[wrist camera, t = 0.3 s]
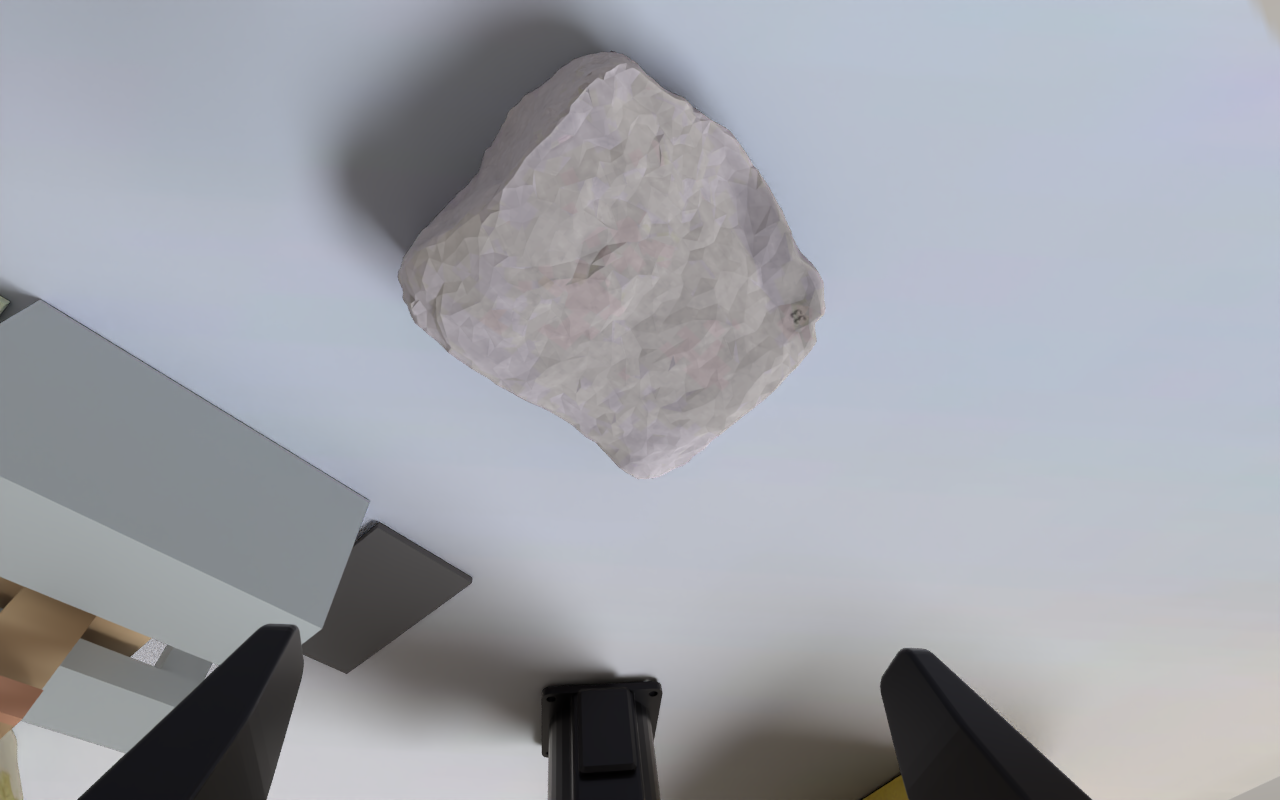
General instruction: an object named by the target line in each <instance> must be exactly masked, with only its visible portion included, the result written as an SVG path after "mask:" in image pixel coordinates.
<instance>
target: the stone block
mask: <svg viewBox="0 0 1280 800" xmlns="http://www.w3.org/2000/svg"><path fill="white" fill-rule="evenodd" d="M398 280H399V282H400V284H401V287H402V288H403V300H404V302H405V303H406V304H407V306H408V309H409V311H410V314H411V316H412V318H413V320H414V322H415V324H417V325H418V326H419V327H420V328H422V329H423V330H424V331H425V332H426V333H427V334H428V335H430V336H431V337H432V338H434V339H435V340H436V341H437V342H438V343H439V344H440V345H442V346H443V347H444V348H445V349H446V350H447V352H448V353H450V354H451V355H453V356H454V357H455V358H457V359H458V360H460V361H461V362H463V363H464V364H466V365H467V366H468V367H470V368H471V369H473V370H475V371H476V372H478V373H480V374H482V375H483V376H485V377H487V378H488V379H490V380H491V381H492V382H494V383H495V384H496V385H498V386H500V387H502V388H504V389H506V390H508V391H509V392H511V393H513V394H515V395H516V396H518V397H520V398H522V399H524V400H525V401H528V402H530V403H532V404H535V405H537V406H539V407H542V408H544V409H546V410H548V411H550V412H552V413H553V414H555V415H557V416H558V417H560V418H562V419H563V420H565V421H567V422H568V423H570V424H571V425H573V426H574V427H575V428H576V429H577V430H578V431H580V432H581V433H582V434H583V435H584V436H585V437H587V438H588V439H590V440H592V441H594V442H596V443H597V444H598V446H599V447H600V448H601V449H602V450H603V451H604V452H605V453H606V454H607V455H608V456H609V457H610V458H611V459H612V460H613V462H614V463H615V464H616V465H617V466H618V467H619V468H621V469H622V470H623V471H625V472H626V473H628V474H630V475H632V476H634V477H635V478H637V479H649V478H656V477H660V476H662V475H664V474H666V473H668V472H670V471H671V470H673V469H675V468H678V467H681V466H683V465H685V464H686V463H688V462H689V461H690V460H691V458H692V457H693V456H695V455H696V454H698V453H699V452H701V451H702V450H704V449H705V448H706V447H707V446H708V444H709V443H710V442H711V441H712V440H714V439H715V438H716V437H718V436H719V435H721V434H722V433H723V432H724V431H725V430H727V429H728V428H729V427H730V426H732V425H733V424H734V423H736V422H737V421H738V420H739V419H740V418H741V417H743V416H744V415H745V414H747V413H748V412H749V411H751V410H752V409H753V408H755V407H756V406H757V405H758V404H760V403H761V402H762V401H763V400H765V399H766V398H767V397H768V396H769V395H770V394H771V393H772V392H773V391H775V389H776V388H777V387H778V386H779V385H780V384H781V383H782V382H783V381H784V380H785V379H786V377H787V376H788V375H789V374H790V373H791V372H792V371H793V370H794V369H796V368H797V367H798V366H799V364H800V363H801V362H802V360H803V359H804V358H805V357H806V356H807V354H808V353H809V352H810V351H811V349H812V348H813V346H814V345H815V343H816V342H817V340H816V334H815V323H816V322H817V321H818V320H819V319H820V318H821V317H822V316H823V315H824V313H825V302H824V282H823V280H822V278H821V276H820V274H819V272H818V271H817V270H816V268H815V267H814V266H813V264H812V263H811V262H810V261H809V260H808V259H807V258H806V257H805V256H804V255H803V254H802V253H801V252H800V250H799V248H798V247H797V245H796V243H795V241H794V239H793V237H792V233H791V230H790V228H789V226H788V224H787V221H786V220H785V217H784V214H783V211H782V209H781V208H780V206H779V205H778V203H777V201H776V199H775V197H774V196H773V194H772V192H771V190H770V188H769V186H768V185H767V183H766V182H765V180H764V179H763V177H762V176H761V174H760V173H759V171H758V170H757V169H756V168H755V167H754V166H753V164H752V162H751V160H750V159H749V157H748V155H747V154H746V152H745V151H744V149H743V148H742V146H741V145H740V144H739V142H738V141H737V139H736V138H735V137H734V136H733V134H732V133H731V132H730V131H729V130H728V129H726V128H725V127H723V126H721V125H720V124H718V123H716V122H714V121H712V120H711V119H709V118H708V117H706V116H705V115H704V114H702V113H701V112H700V111H698V110H697V109H696V108H694V107H692V106H691V104H690V103H689V102H688V101H687V100H686V99H685V98H683V97H681V96H678V95H676V94H673V93H671V92H669V91H667V90H666V89H664V88H662V87H661V86H660V85H659V84H658V83H657V82H656V81H655V80H654V79H653V78H651V77H650V76H648V75H647V74H646V73H645V72H644V71H643V70H642V69H641V67H640V66H639V65H638V64H637V63H636V62H635V61H633V60H631V59H630V58H628V57H626V56H625V55H624V54H619V53H616V52H613V51H610V52H599V53H596V54H589V55H586V56H582V57H579V58H575V59H573V60H572V61H571V62H569V63H568V64H567V65H565V66H563V67H562V68H560V69H559V70H558V71H557V72H556V73H555V74H554V75H553V76H552V78H551V79H549V80H548V81H546V82H545V83H544V84H542V85H541V86H540V87H539V88H537V89H536V90H534V91H532V92H530V93H528V94H526V95H525V96H524V97H523V98H522V100H521V101H520V102H519V103H518V104H517V105H516V106H514V107H513V108H512V109H510V111H509V112H508V114H507V118H506V120H505V122H504V123H503V124H502V126H501V128H500V130H499V132H498V134H497V136H496V138H495V140H494V141H493V143H492V145H491V147H489V148H487V149H486V150H485V152H484V156H483V159H482V163H481V167H480V169H479V172H478V173H477V174H476V175H475V176H474V177H473V179H472V180H471V181H470V182H469V184H468V185H467V186H466V187H465V188H464V189H462V190H461V191H460V192H458V193H457V195H456V197H455V198H454V199H452V200H451V201H450V202H449V203H448V204H447V206H446V207H445V208H444V209H443V210H442V211H441V212H440V213H439V214H438V215H437V216H436V217H435V218H434V220H433V221H432V222H431V223H430V224H429V225H428V226H427V227H426V228H424V229H423V230H422V231H421V233H420V234H419V235H418V237H417V238H416V240H415V241H414V243H413V244H412V246H411V247H410V249H409V250H408V252H407V253H406V254H405V256H404V257H403V261H402V265H401V268H400V269H399V271H398Z"/></svg>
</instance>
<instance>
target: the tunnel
mask: <svg viewBox="0 0 1280 800" xmlns="http://www.w3.org/2000/svg"><path fill="white" fill-rule="evenodd" d="M369 502H370V501H369V500H367V499H366V498H364V497H362V496H361V495H359V494H358V493H356V492H354V491H353V490H351V489H349V488H348V487H346V486H345V485H343V484H341V483H340V482H338V481H336V480H335V479H333V478H331V477H330V476H328V475H327V474H325V473H323V472H322V471H320V470H318V469H317V468H315V467H313V466H312V465H310V464H309V463H307V462H305V461H304V460H302V459H300V458H299V457H297V456H295V455H294V454H292V453H291V452H289V451H287V450H286V449H284V448H282V447H281V446H279V445H277V444H276V443H274V442H273V441H271V440H269V439H268V438H266V437H264V436H263V435H261V434H259V433H258V432H256V431H255V430H253V429H251V428H250V427H248V426H246V425H245V424H243V423H242V422H240V421H238V420H237V419H235V418H233V417H232V416H230V415H228V414H227V413H225V412H224V411H222V410H220V409H219V408H217V407H215V406H214V405H212V404H210V403H209V402H207V401H206V400H204V399H202V398H201V397H199V396H197V395H196V394H194V393H192V392H191V391H189V390H188V389H186V388H184V387H183V386H181V385H179V384H178V383H176V382H174V381H173V380H171V379H170V378H168V377H166V376H165V375H163V374H161V373H160V372H158V371H156V370H155V369H153V368H152V367H150V366H148V365H147V364H145V363H143V362H142V361H140V360H139V359H137V358H135V357H134V356H132V355H130V354H129V353H127V352H125V351H124V350H122V349H121V348H119V347H117V346H116V345H114V344H112V343H111V342H109V341H107V340H106V339H104V338H103V337H101V336H99V335H98V334H96V333H94V332H93V331H91V330H89V329H88V328H86V327H85V326H83V325H81V324H80V323H78V322H76V321H75V320H73V319H71V318H70V317H68V316H67V315H65V314H63V313H62V312H60V311H58V310H57V309H55V308H53V307H52V306H50V305H49V304H47V303H45V302H44V301H42V300H39V301H37V302H35V303H34V304H32V305H30V306H28V307H27V308H25V309H23V310H22V311H20V312H18V313H17V314H15V315H13V316H12V317H10V318H8V319H7V320H5V321H3V322H1V323H0V577H2V578H4V579H7V580H9V581H12V582H14V583H17V584H19V585H22V586H24V587H27V588H29V589H31V590H34V591H36V592H39V593H41V594H44V595H46V596H49V597H51V598H54V599H56V600H59V601H61V602H64V603H66V604H69V605H71V606H73V607H76V608H78V609H81V610H83V611H86V612H88V613H91V614H93V615H96V616H98V617H101V618H103V619H106V620H108V621H110V622H113V623H115V624H118V625H120V626H123V627H125V628H128V629H130V630H133V631H135V632H138V633H140V634H143V635H145V636H148V637H150V638H152V639H155V640H157V641H160V642H162V643H165V644H167V646H166V648H165V649H164V651H163V653H162V654H161V656H160V658H159V659H158V661H157V663H156V664H155V666H151V665H149V664H146V663H143V662H141V661H138V660H136V659H133V658H130V657H128V656H125V655H123V654H120V653H117V652H115V651H112V650H110V649H107V648H104V647H102V646H99V645H97V644H94V643H91V642H89V641H86V640H83V639H81V638H80V639H79V640H78V642H77V643H76V644H75V646H74V647H73V648H72V650H71V651H70V652H69V654H68V655H67V656H66V658H65V659H64V660H63V662H62V663H61V664H60V666H59V667H58V668H57V670H56V671H55V672H54V674H53V675H52V676H51V678H50V679H49V680H48V682H47V683H46V685H45V686H44V687H43V689H42V690H44V691H43V692H42V693H41V695H40V696H39V697H38V699H37V700H36V701H35V703H34V704H33V705H32V707H31V708H30V709H29V711H28V712H27V713H26V715H25V716H24V718H23V719H22V720H21V721H23V722H26V723H29V724H33V725H36V726H39V727H42V728H45V729H49V730H52V731H55V732H58V733H62V734H65V735H68V736H71V737H74V738H78V739H81V740H84V741H87V742H91V743H94V744H97V745H100V746H103V747H107V748H110V749H113V750H116V751H119V752H123V753H127V752H128V751H129V750H130V749H131V748H132V747H134V746H135V745H136V744H137V743H138V742H139V741H140V740H141V739H142V738H143V737H144V736H145V735H146V734H147V733H148V732H149V731H150V730H152V729H153V728H154V727H155V726H156V725H157V724H158V723H159V722H160V721H161V720H162V719H163V718H164V717H165V716H166V715H167V714H168V713H170V712H171V711H172V710H173V709H174V708H175V707H176V706H177V705H178V704H179V703H180V702H181V701H182V700H183V699H184V698H185V697H186V696H188V695H189V694H190V693H191V692H192V691H193V690H194V689H195V688H196V687H197V686H198V685H199V684H200V683H201V682H202V681H203V680H204V678H205V676H206V674H207V673H208V671H209V669H210V667H211V665H212V663H214V664H217V665H220V664H221V663H222V662H223V661H225V660H226V659H227V658H228V657H229V656H230V655H231V654H232V653H233V652H234V651H235V650H236V649H237V648H238V647H239V646H240V645H241V644H243V643H244V642H245V641H246V640H247V639H248V638H249V637H250V636H251V635H252V634H253V633H254V632H255V631H256V630H257V629H259V628H260V627H261V626H263V625H265V624H270V623H272V624H294V625H296V626H297V627H298V628H299V631H300V637H301V645H302V644H303V643H304V642H306V641H307V640H308V639H309V638H311V637H312V636H313V635H315V634H316V633H317V632H319V631H320V630H321V629H322V628H323V625H324V622H325V620H326V617H327V614H328V612H329V609H330V606H331V604H332V601H333V598H334V596H335V593H336V590H337V588H338V585H339V582H340V580H341V577H342V574H343V572H344V569H345V566H346V564H347V561H348V558H349V556H350V553H351V550H352V548H353V545H354V542H355V540H356V537H357V534H358V532H359V529H360V526H361V524H362V521H363V518H364V516H365V513H366V510H367V508H368V505H369ZM2 610H3V608H0V612H1V611H2Z"/></svg>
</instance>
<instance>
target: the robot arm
mask: <svg viewBox="0 0 1280 800" xmlns="http://www.w3.org/2000/svg"><path fill="white" fill-rule="evenodd" d="M303 667H304V660H303V652H302V645H301V637H300V631H299V628H298V627H297V626H296V625H294V624H272V623H270V624H265V625H263V626H261V627H260V628H259V629H257V630H256V631H255V632H254V633H253V634H252V635H251V636H250V637H249V638H248V639H247V640H246V641H245V642H244V643H243V644H241V645H240V646H239V647H238V648H237V649H236V650H235V651H234V652H233V653H232V654H231V655H230V656H229V657H228V658H227V659H226V660H225V661H223V662H222V663H221V664H220V665H219V666H218V667H217V668H216V669H215V670H214V671H213V672H212V673H211V674H210V675H209V676H208V677H207V678H206V679H204V680H203V681H202V682H201V683H200V684H199V685H198V686H197V687H196V688H195V689H194V690H193V691H192V692H191V693H190V694H189V695H188V696H186V697H185V698H184V699H183V700H182V701H181V702H180V703H179V704H178V705H177V706H176V707H175V708H174V709H173V710H172V711H171V712H170V713H168V714H167V715H166V716H165V717H164V718H163V719H162V720H161V721H160V722H159V723H158V724H157V725H156V726H155V727H154V728H153V729H152V730H150V731H149V732H148V733H147V734H146V735H145V736H144V737H143V738H142V739H141V740H140V741H139V742H138V743H137V744H136V745H135V746H134V747H132V748H131V749H130V750H129V751H128V752H127V753H126V754H125V755H124V756H123V757H122V758H121V759H120V760H119V761H118V762H117V763H116V764H114V765H113V766H112V767H111V768H110V769H109V770H108V771H107V772H106V773H105V774H104V775H103V776H102V777H101V778H100V779H99V780H98V781H96V782H95V783H94V784H93V785H92V786H91V787H90V788H89V789H88V790H87V791H86V792H85V793H84V794H83V795H82V796H81V797H80V798H78V799H77V800H266V799H267V796H268V793H269V789H270V786H271V783H272V780H273V776H274V773H275V769H276V766H277V762H278V759H279V756H280V752H281V749H282V745H283V742H284V738H285V735H286V731H287V728H288V724H289V721H290V717H291V714H292V710H293V707H294V703H295V700H296V696H297V693H298V689H299V686H300V682H301V679H302V674H303ZM880 688H881V695H882V699H883V703H884V707H885V711H886V715H887V719H888V723H889V727H890V731H891V735H892V739H893V743H894V747H895V751H896V755H897V759H898V763H899V767H900V771H901V775H902V779H903V783H904V786H905V790H906V793H907V796H908V799H909V800H1092V799H1091V798H1090V797H1089V796H1088V795H1087V794H1085V793H1084V792H1083V791H1082V790H1081V789H1080V788H1079V787H1078V786H1077V785H1076V784H1075V783H1073V782H1072V781H1071V780H1070V779H1069V778H1068V777H1067V776H1066V775H1065V774H1064V773H1063V772H1061V771H1060V770H1059V769H1058V768H1057V767H1056V766H1055V765H1054V764H1053V763H1052V762H1051V761H1049V760H1048V759H1047V758H1046V757H1045V756H1044V755H1043V754H1042V753H1041V752H1040V751H1039V750H1037V749H1036V748H1035V747H1034V746H1033V745H1032V744H1031V743H1030V742H1029V741H1028V740H1027V739H1025V738H1024V737H1023V736H1022V735H1021V734H1020V733H1019V732H1018V731H1017V730H1016V729H1015V728H1013V727H1012V726H1011V725H1010V724H1009V723H1008V722H1007V721H1006V720H1005V719H1004V718H1003V717H1001V716H1000V715H999V714H998V713H997V712H996V711H995V710H994V709H993V708H992V707H991V706H989V705H988V704H987V703H986V702H985V701H984V700H983V699H982V698H981V697H980V696H979V695H978V694H976V693H975V692H974V691H973V690H972V689H971V688H970V687H969V686H968V685H967V684H966V683H964V682H963V681H962V680H961V679H960V678H959V677H958V676H957V675H956V674H955V673H954V672H952V671H951V670H950V669H949V668H948V667H947V666H946V665H945V664H944V663H943V662H942V661H940V660H939V659H938V658H937V657H936V656H935V655H934V654H933V653H931V652H930V651H928V650H926V649H921V648H903V649H901V650H900V651H899V652H898V653H897V655H896V656H895V658H894V659H893V661H892V662H891V664H890V665H889V667H888V668H887V670H886V671H885V673H884V674H883V676H882V679H881V684H880ZM661 698H662V688H661V684H660V683H658V682H636V683H616V684H596V685H576V686H555V687H547V688H545V689H544V690H543V691H542V755H543V756H544V757H547V758H549V760H548V800H661V799H660V791H659V783H658V775H657V767H656V759H655V750H654V736H655V731H656V725H657V720H658V714H659V709H660V703H661Z"/></svg>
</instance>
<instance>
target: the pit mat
mask: <svg viewBox="0 0 1280 800" xmlns="http://www.w3.org/2000/svg"><path fill="white" fill-rule="evenodd" d="M471 583H472V577H470V576H468V575H467V574H465V573H463V572H462V571H460V570H458V569H457V568H455V567H453V566H452V565H450V564H448V563H447V562H445V561H443V560H442V559H440V558H438V557H436V556H435V555H433V554H431V553H430V552H428V551H426V550H425V549H423V548H421V547H420V546H418V545H416V544H415V543H413V542H411V541H410V540H408V539H406V538H405V537H403V536H401V535H400V534H398V533H396V532H395V531H393V530H391V529H390V528H388V527H386V526H385V525H383V524H381V523H380V522H379V523H378V524H377V525H376V526H374V527H373V528H372V529H371V530H369V531H368V532H367V533H366V534H365V535H363V536H362V537H361V538H360V539H358V540H357V541H356V542H355V543H354V545H353V548H352V550H351V553H350V556H349V558H348V561H347V564H346V566H345V569H344V572H343V574H342V577H341V580H340V582H339V585H338V588H337V590H336V593H335V596H334V598H333V601H332V604H331V606H330V609H329V612H328V614H327V617H326V620H325V622H324V625H323V628H322V629H321V630H320V631H319V632H317V633H316V634H315V635H313V636H312V637H311V638H309V639H308V640H307V641H306V642H304V643H303V644H302V652H303V655H305V656H308V657H310V658H312V659H314V660H317V661H319V662H321V663H323V664H326V665H328V666H330V667H332V668H335V669H337V670H339V671H341V672H344V673H346V674H347V673H349V672H350V671H351V670H353V669H354V668H356V667H357V666H358V665H360V664H361V663H362V662H364V661H365V660H367V659H368V658H369V657H371V656H372V655H373V654H375V653H376V652H378V651H379V650H380V649H382V648H383V647H385V646H386V645H387V644H389V643H390V642H391V641H393V640H394V639H396V638H397V637H398V636H400V635H401V634H402V633H404V632H405V631H407V630H408V629H409V628H411V627H412V626H413V625H415V624H416V623H418V622H419V621H420V620H422V619H423V618H424V617H426V616H427V615H429V614H430V613H431V612H433V611H434V610H435V609H437V608H438V607H440V606H441V605H442V604H444V603H445V602H446V601H448V600H449V599H451V598H452V597H453V596H455V595H456V594H457V593H459V592H460V591H462V590H463V589H464V588H466V587H467V586H468V585H470V584H471Z"/></svg>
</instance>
